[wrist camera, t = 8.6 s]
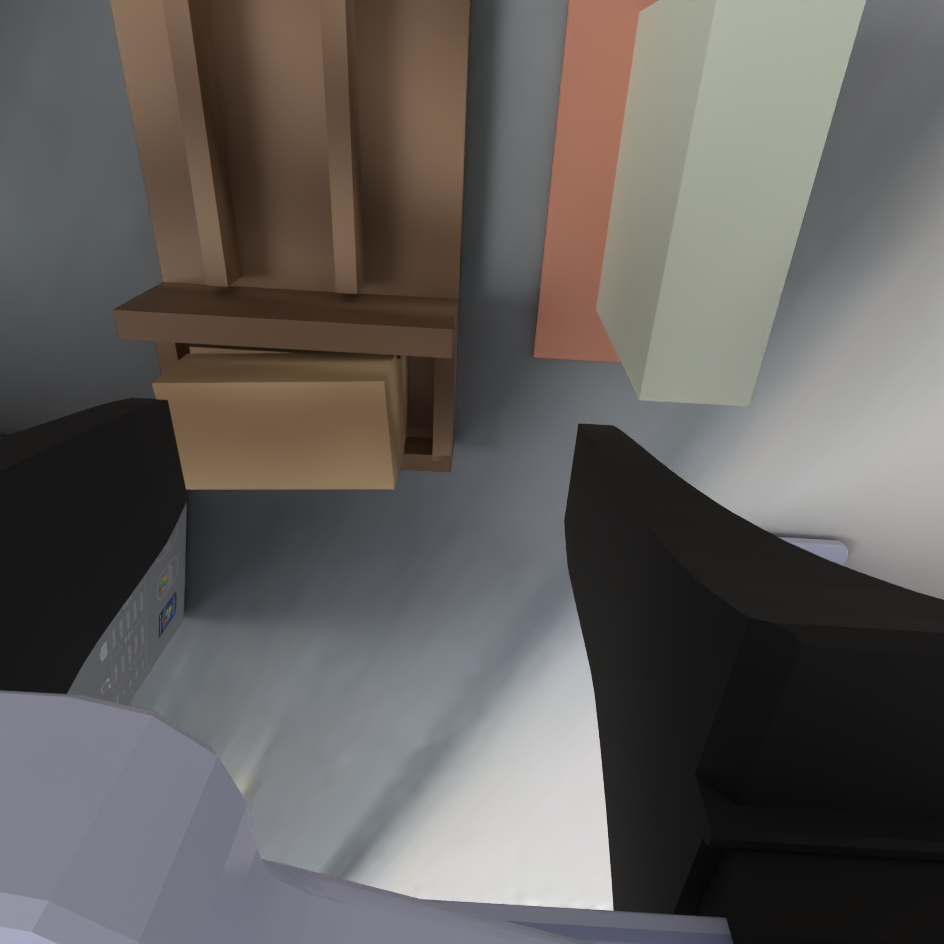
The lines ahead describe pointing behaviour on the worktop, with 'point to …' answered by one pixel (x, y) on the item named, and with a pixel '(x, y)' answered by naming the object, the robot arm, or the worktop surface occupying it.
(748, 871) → the robot arm
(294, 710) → the worktop surface
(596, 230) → the mat
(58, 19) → the worktop surface
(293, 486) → the offcut upper
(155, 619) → the hard drive box
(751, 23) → the panel
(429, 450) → the rack
